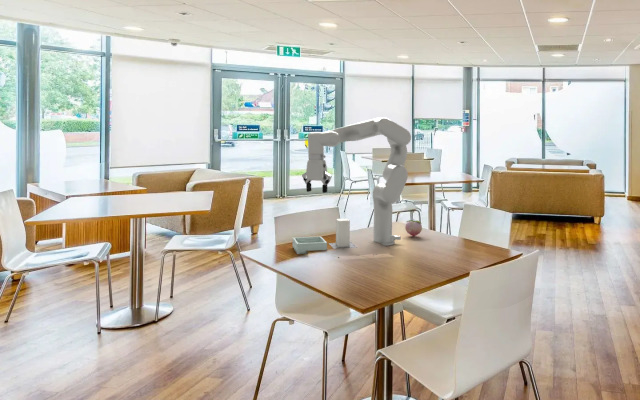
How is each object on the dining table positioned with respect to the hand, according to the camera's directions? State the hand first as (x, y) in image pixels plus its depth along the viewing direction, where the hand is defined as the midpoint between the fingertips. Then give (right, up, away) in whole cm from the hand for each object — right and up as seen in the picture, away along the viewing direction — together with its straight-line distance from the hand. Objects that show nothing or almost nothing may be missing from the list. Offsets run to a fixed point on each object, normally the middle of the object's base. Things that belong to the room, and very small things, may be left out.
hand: (316, 192), depth 249 cm
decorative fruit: (+54, -24, +32) cm, 67 cm away
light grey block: (+13, -27, +3) cm, 30 cm away
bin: (-4, -29, 0) cm, 29 cm away
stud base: (+13, -28, +3) cm, 31 cm away
